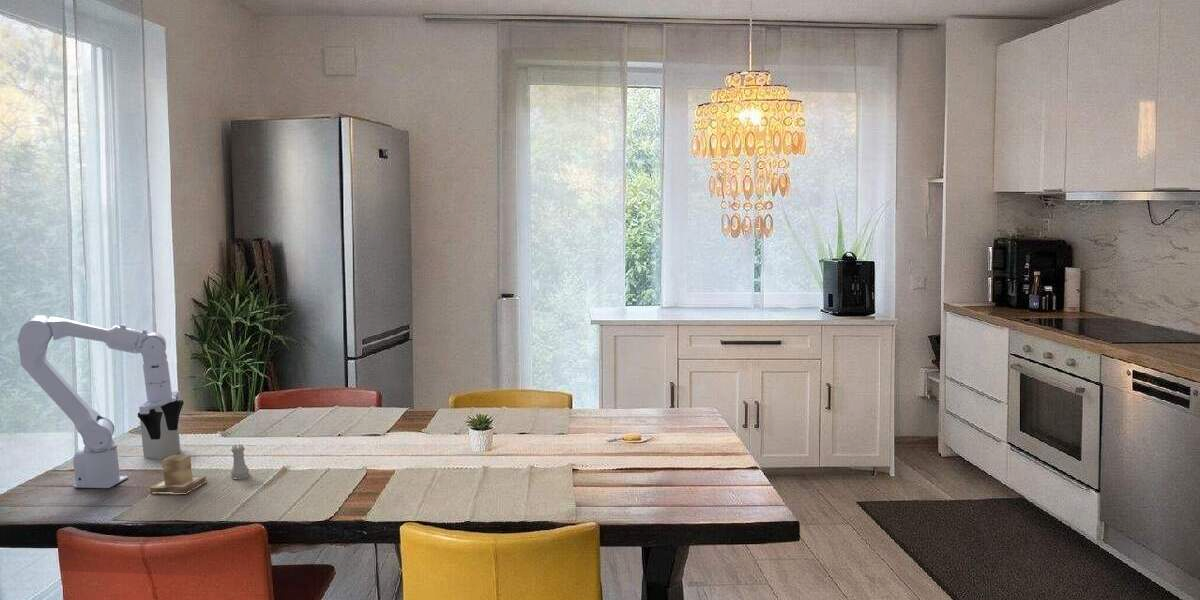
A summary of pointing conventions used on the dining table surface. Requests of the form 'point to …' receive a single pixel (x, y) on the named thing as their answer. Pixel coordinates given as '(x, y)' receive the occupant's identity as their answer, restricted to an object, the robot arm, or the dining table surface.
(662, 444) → the dining table surface
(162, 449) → the cup
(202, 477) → the picture frame
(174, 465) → the oak block
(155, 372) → the robot arm
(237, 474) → the rook chess piece
